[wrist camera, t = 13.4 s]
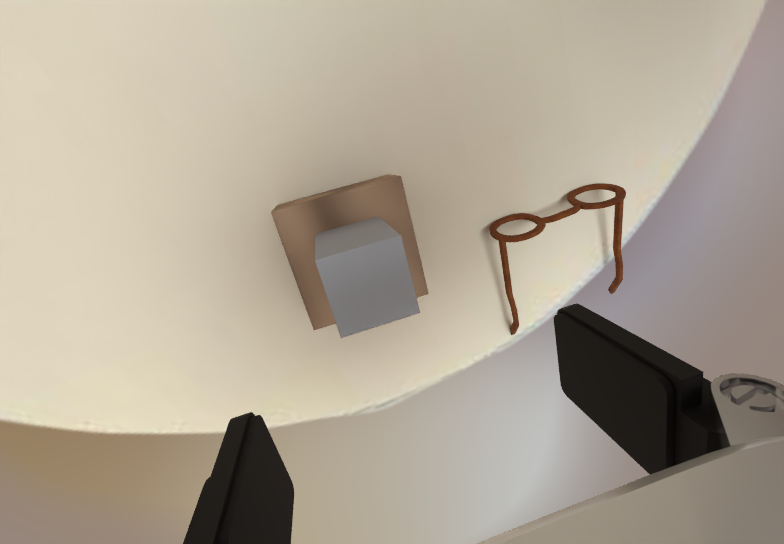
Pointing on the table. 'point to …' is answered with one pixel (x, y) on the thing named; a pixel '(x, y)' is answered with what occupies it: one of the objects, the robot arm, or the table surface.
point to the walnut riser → (339, 210)
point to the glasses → (541, 221)
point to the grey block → (365, 275)
